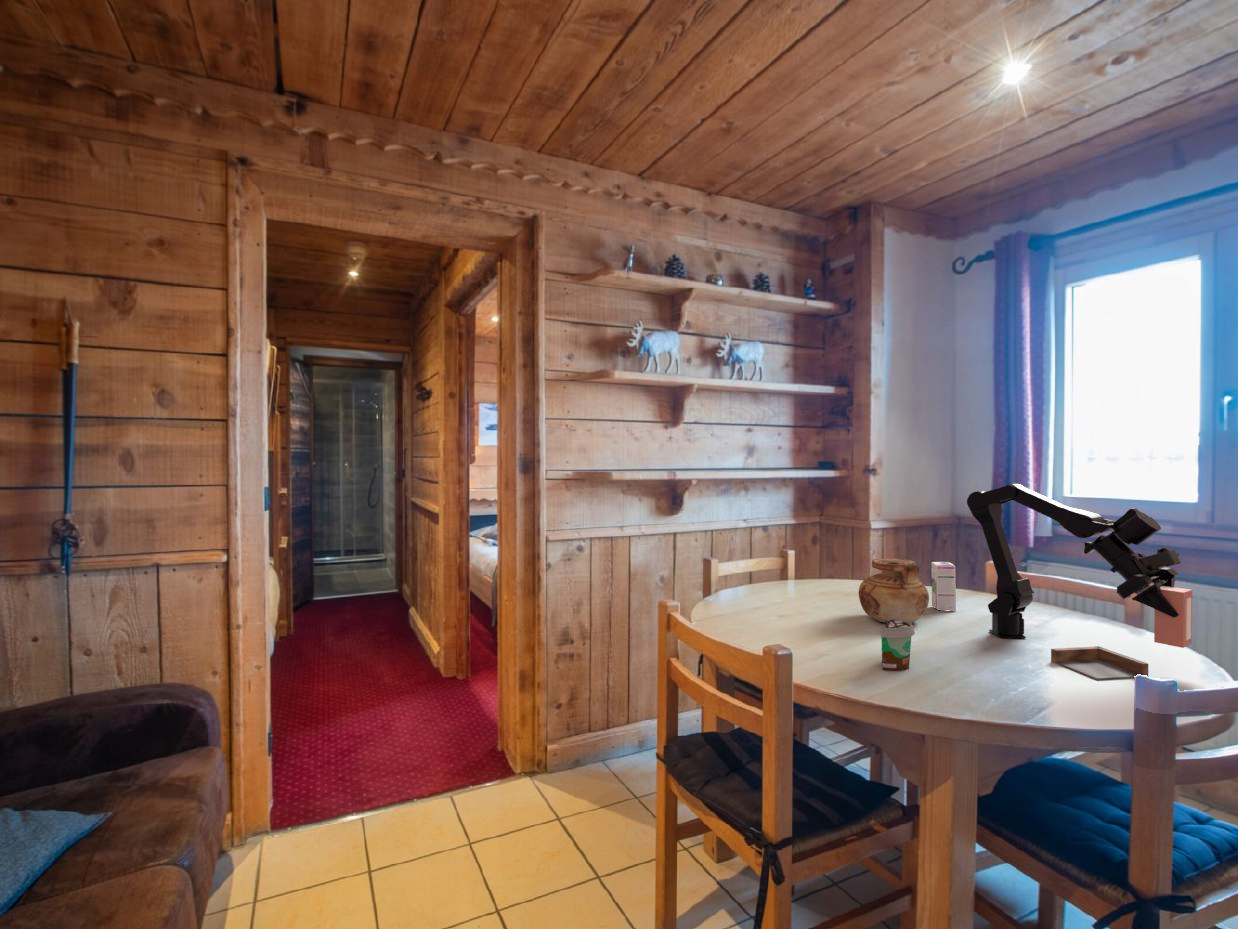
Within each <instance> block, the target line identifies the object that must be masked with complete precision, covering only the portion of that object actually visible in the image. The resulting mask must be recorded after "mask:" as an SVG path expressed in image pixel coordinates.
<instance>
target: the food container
mask: <svg viewBox="0 0 1238 929" xmlns="http://www.w3.org/2000/svg"><path fill="white" fill-rule="evenodd" d="M880 632H881V633H880V638H881V662H882V663H881V668H882V671H887V672H903V671H907V670H909V669H910V662H911V661H910V659H911V648H912V637H913V636H915V635H916V632H915V628H914V625H913V622H912V623H911V622H910V621H908V620H905V619H902V618H898V617H891V616H890V621H889V623H886V624H885V626H884V627H881V629H880Z"/></svg>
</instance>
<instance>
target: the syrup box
mask: <svg viewBox="0 0 1238 929" xmlns="http://www.w3.org/2000/svg"><path fill="white" fill-rule="evenodd" d="M956 586H957V584H956V565H954V564H953V563H951V562H949V561H932V562H931V607H932V606H933V607H935V608H936V609H937V610H950V611H956V612H957V592H956V591H957V589H956V588H957V587H956ZM933 607H932V608H933ZM936 609H935V610H936ZM937 610H936V611H937Z"/></svg>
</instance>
